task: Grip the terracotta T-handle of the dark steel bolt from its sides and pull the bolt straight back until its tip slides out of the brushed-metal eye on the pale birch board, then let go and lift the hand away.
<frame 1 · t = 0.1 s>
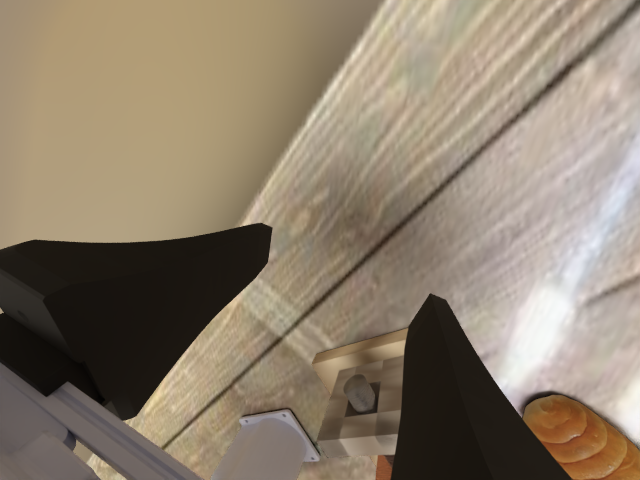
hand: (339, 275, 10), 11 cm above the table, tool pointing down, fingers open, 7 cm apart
latch board: (384, 373, 24), on the table
pastry: (569, 437, 20), on the table
bolt: (385, 434, 19), point 5 cm above the table, slide at 0.0 cm
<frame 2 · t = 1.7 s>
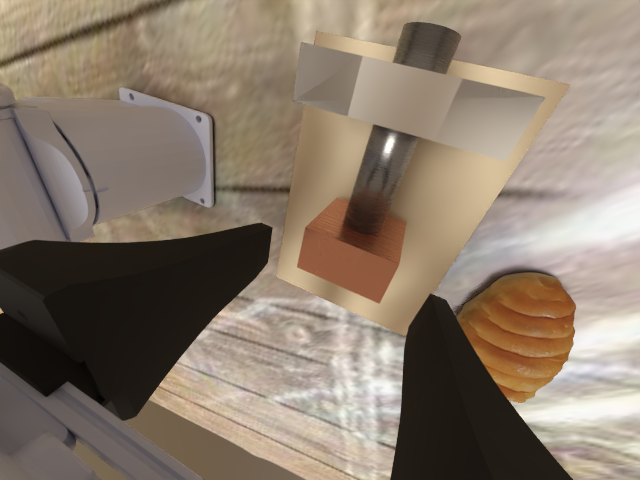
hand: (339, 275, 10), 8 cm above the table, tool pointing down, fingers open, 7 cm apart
latch board: (399, 139, 15), on the table
pastry: (495, 322, 18), on the table
bolt: (380, 174, 11), point 5 cm above the table, slide at 0.0 cm
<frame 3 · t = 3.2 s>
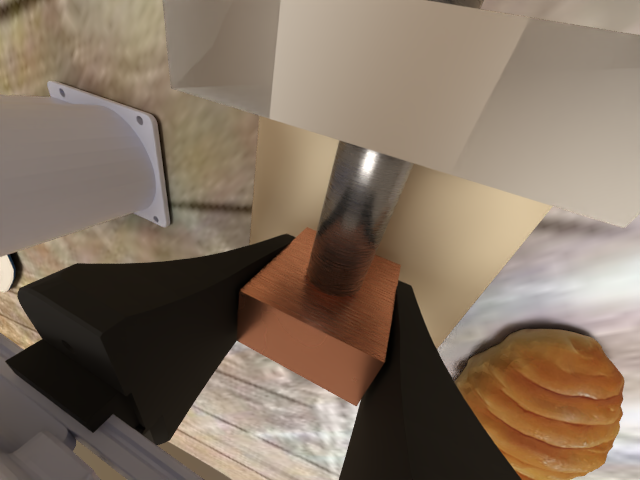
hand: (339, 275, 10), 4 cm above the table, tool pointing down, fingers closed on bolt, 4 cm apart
latch board: (391, 149, 11), on the table
pastry: (510, 381, 14), on the table
bolt: (357, 207, 7), point 5 cm above the table, slide at 0.0 cm, touching gripper
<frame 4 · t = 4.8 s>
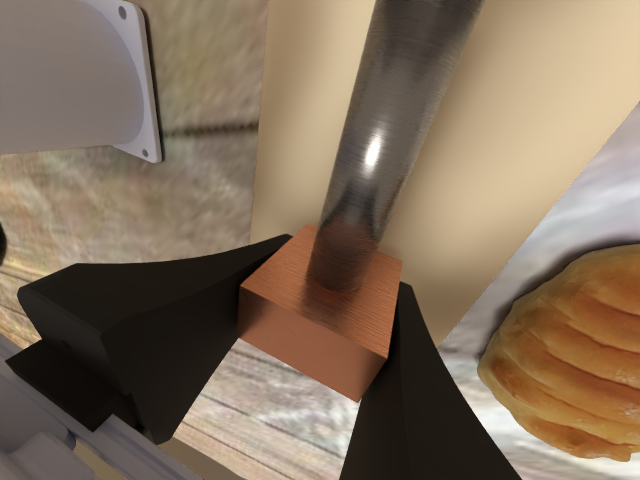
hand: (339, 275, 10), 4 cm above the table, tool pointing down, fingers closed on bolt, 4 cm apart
latch board: (447, 1, 8), on the table
pastry: (563, 329, 12), on the table
bolt: (359, 201, 7), point 5 cm above the table, slide at 4.8 cm, touching gripper
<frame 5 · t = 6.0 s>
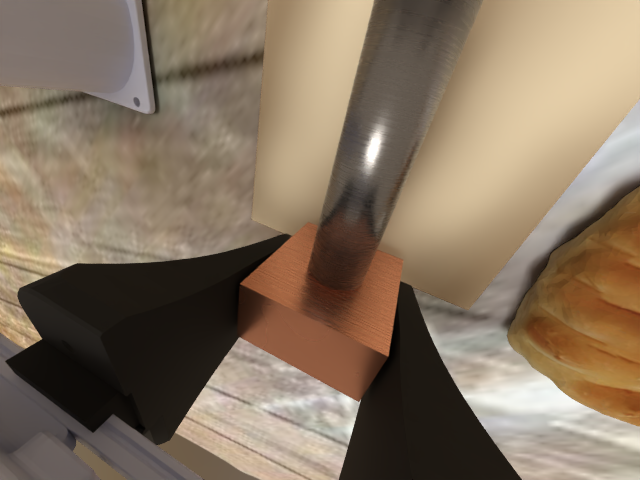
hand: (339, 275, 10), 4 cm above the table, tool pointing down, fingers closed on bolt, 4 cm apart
pastry: (608, 284, 10), on the table
bolt: (360, 199, 7), point 5 cm above the table, slide at 7.7 cm, touching gripper
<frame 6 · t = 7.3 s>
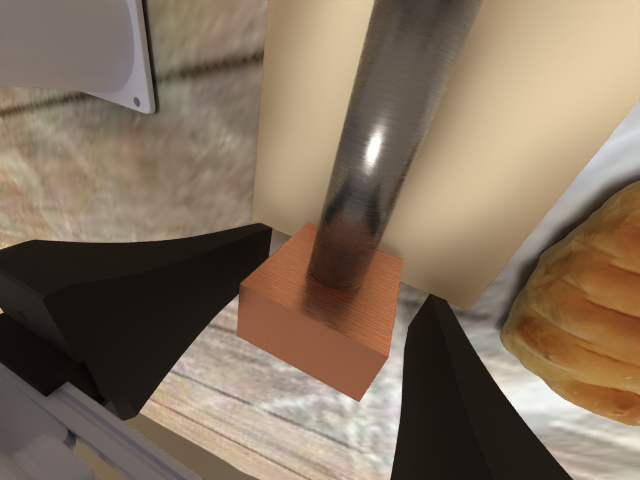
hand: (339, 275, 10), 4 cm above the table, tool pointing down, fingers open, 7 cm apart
pastry: (598, 284, 11), on the table
bolt: (360, 199, 7), point 5 cm above the table, slide at 7.7 cm
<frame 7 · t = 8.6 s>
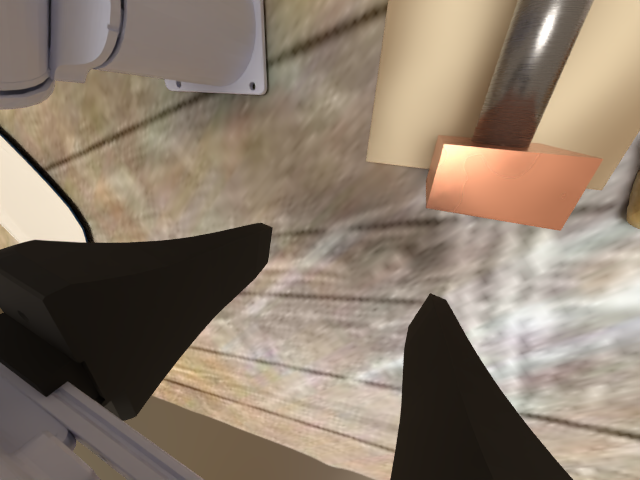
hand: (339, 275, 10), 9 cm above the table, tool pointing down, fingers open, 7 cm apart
plate: (38, 209, 41), on the table
bolt: (529, 62, 8), point 5 cm above the table, slide at 7.7 cm
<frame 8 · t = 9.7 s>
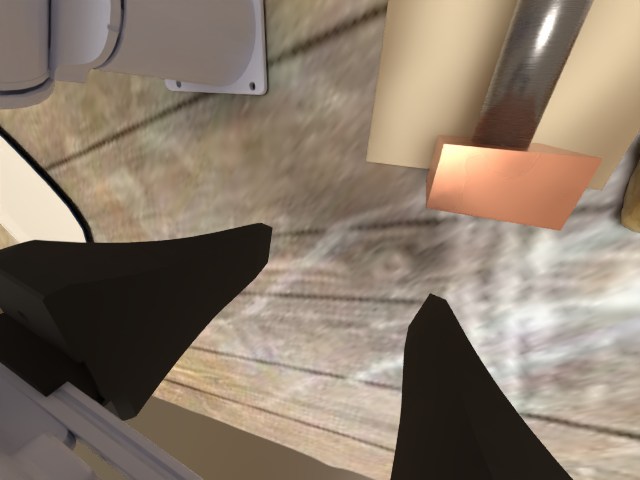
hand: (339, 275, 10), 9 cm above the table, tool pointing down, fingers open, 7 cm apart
plate: (38, 209, 41), on the table
bolt: (529, 62, 8), point 5 cm above the table, slide at 7.7 cm
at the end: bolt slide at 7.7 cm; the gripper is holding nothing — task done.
